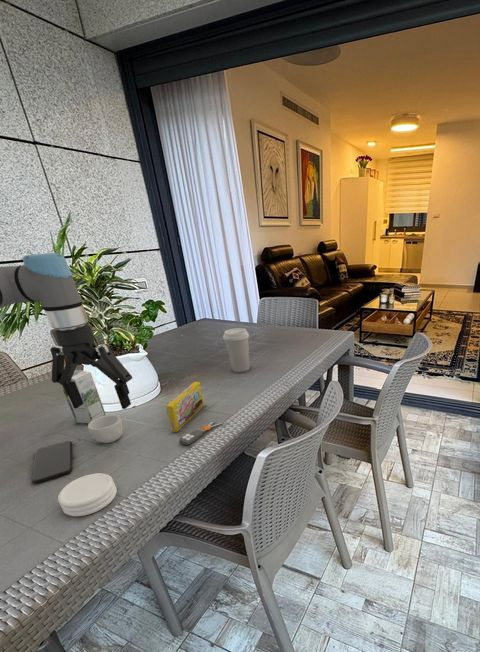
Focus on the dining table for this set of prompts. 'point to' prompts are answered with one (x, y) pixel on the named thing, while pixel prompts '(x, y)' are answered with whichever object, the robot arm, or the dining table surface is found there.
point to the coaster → (87, 494)
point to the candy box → (185, 406)
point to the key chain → (196, 434)
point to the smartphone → (52, 461)
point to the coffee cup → (237, 348)
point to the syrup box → (86, 398)
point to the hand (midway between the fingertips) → (102, 406)
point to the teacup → (106, 428)
